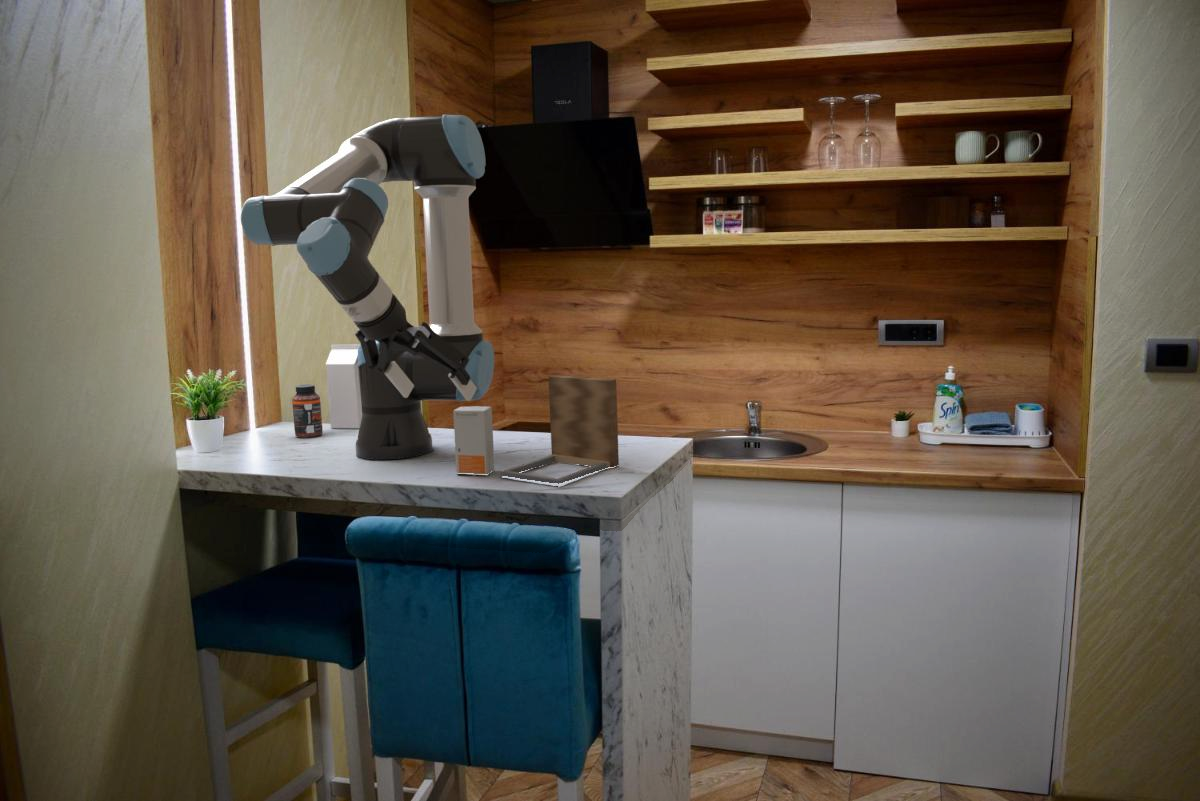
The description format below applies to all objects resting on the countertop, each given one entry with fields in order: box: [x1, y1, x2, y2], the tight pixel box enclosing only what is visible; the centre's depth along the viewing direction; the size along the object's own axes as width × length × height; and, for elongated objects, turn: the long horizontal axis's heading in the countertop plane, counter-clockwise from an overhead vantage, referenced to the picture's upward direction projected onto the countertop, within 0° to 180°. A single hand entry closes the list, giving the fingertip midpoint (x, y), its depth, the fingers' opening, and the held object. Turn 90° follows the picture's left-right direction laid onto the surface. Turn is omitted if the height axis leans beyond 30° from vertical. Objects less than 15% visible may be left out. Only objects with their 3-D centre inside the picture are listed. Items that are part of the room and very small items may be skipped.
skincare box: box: [452, 405, 495, 474], centre depth 168 cm, size 6×4×12 cm
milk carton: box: [325, 343, 362, 429], centre depth 215 cm, size 7×7×19 cm
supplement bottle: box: [291, 384, 324, 439], centre depth 206 cm, size 6×6×11 cm
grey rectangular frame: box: [500, 453, 610, 484], centre depth 167 cm, size 13×15×1 cm
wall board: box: [547, 374, 620, 467], centre depth 172 cm, size 14×2×16 cm, turn 54°
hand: (440, 393), depth 159 cm, fingers open, 13 cm apart
